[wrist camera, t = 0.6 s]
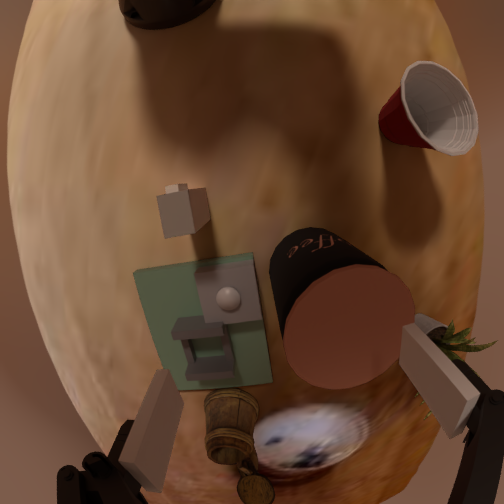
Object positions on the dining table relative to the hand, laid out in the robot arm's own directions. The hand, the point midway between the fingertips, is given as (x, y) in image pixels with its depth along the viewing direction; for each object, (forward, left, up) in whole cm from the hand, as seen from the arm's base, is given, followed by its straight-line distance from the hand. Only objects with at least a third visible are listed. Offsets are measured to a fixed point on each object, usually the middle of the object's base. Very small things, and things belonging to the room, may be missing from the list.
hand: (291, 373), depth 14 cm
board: (+9, -10, -23) cm, 26 cm away
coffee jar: (+2, +5, -23) cm, 24 cm away
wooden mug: (+26, -8, -23) cm, 36 cm away
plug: (-8, -8, -23) cm, 26 cm away
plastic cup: (-16, +20, -23) cm, 35 cm away
